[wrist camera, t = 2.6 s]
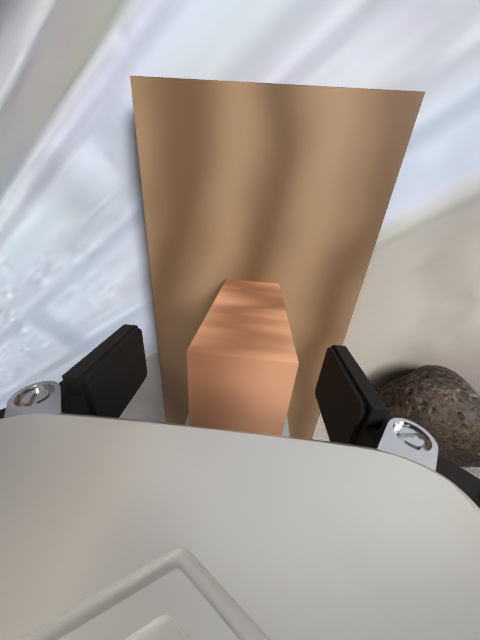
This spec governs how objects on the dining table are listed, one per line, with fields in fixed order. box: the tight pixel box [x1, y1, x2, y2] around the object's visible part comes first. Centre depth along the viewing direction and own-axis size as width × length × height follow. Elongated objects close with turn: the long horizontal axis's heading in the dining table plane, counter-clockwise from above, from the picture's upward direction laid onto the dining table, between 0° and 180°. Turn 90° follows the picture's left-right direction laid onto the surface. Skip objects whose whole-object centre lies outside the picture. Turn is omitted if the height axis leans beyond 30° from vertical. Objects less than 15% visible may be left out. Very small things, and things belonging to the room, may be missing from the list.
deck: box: [130, 76, 425, 439], centre depth 21 cm, size 16×39×2 cm, turn 176°
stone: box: [377, 365, 480, 468], centre depth 21 cm, size 10×8×10 cm
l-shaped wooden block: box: [187, 278, 299, 436], centre depth 16 cm, size 4×18×10 cm, turn 175°
